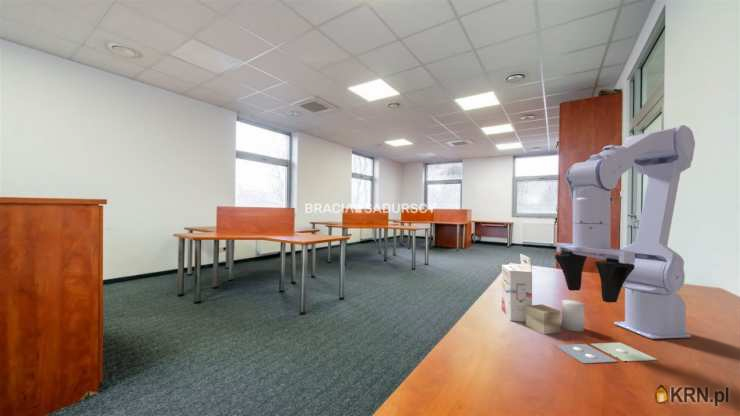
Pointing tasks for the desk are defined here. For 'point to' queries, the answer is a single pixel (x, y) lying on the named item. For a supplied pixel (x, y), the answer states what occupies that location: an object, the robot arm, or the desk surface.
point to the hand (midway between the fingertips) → (590, 295)
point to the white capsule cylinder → (572, 315)
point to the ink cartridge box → (517, 289)
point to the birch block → (543, 318)
